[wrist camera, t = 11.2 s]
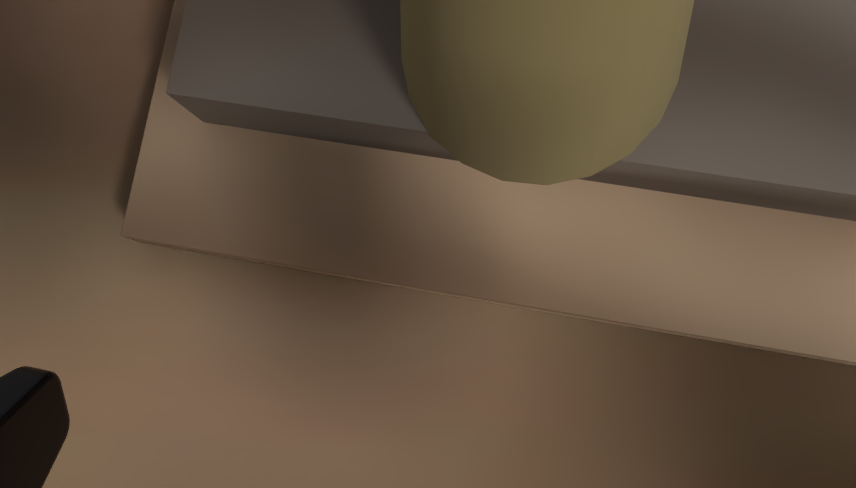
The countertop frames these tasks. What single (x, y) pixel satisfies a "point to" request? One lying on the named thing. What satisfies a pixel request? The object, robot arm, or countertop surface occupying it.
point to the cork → (542, 80)
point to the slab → (511, 201)
